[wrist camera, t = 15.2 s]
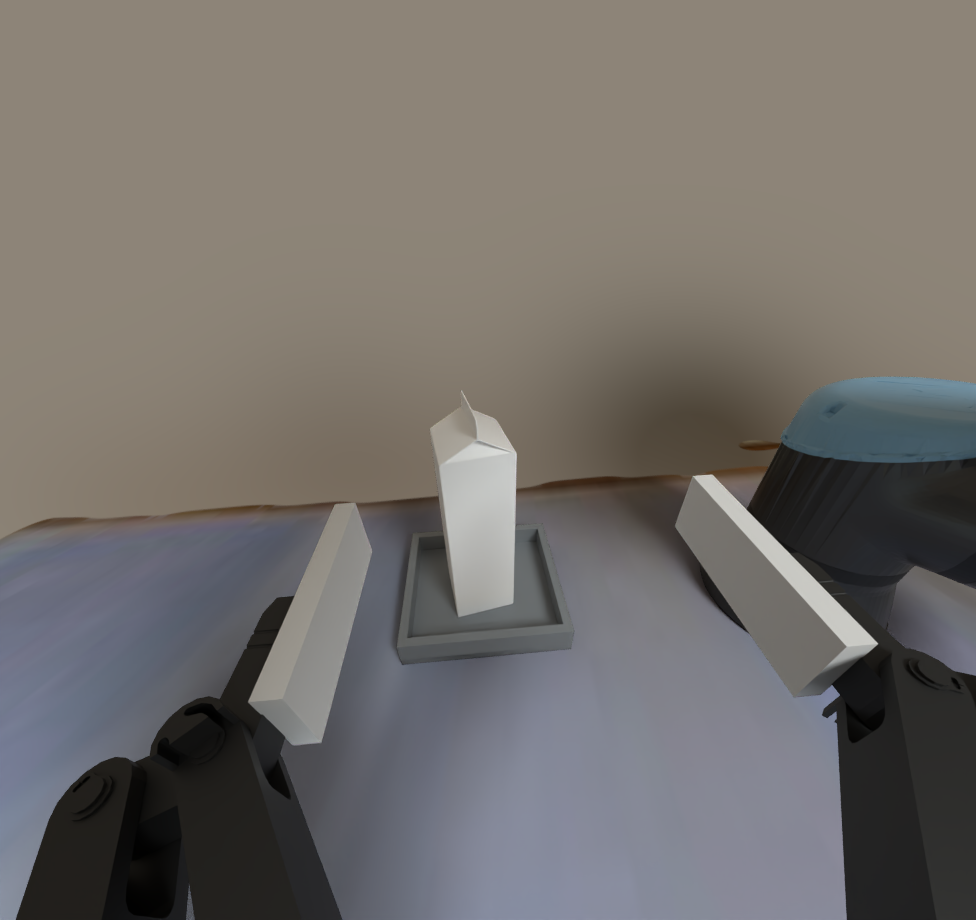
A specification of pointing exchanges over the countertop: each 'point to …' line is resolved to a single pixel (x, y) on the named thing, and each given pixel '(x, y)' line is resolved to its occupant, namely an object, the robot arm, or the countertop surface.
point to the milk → (476, 507)
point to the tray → (494, 632)
